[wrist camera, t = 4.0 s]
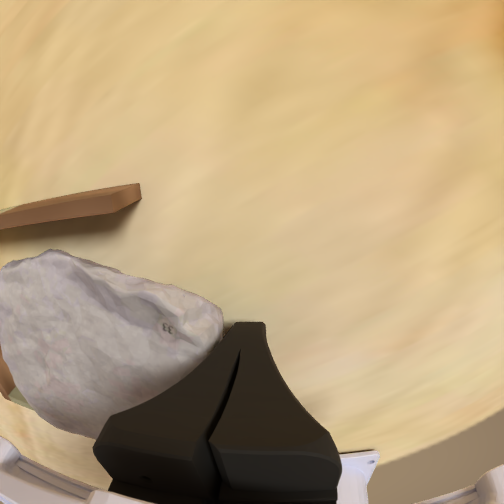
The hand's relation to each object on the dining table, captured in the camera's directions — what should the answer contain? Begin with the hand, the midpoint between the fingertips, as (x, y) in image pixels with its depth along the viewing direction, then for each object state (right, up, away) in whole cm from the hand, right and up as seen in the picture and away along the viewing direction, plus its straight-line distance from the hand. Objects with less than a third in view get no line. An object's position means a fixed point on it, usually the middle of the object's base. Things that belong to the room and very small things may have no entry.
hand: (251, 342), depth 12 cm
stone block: (-7, 0, +2) cm, 7 cm away
